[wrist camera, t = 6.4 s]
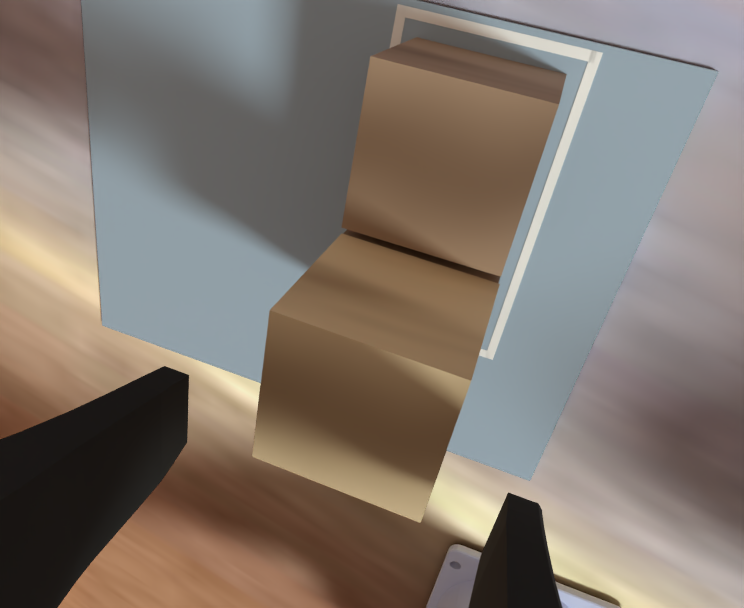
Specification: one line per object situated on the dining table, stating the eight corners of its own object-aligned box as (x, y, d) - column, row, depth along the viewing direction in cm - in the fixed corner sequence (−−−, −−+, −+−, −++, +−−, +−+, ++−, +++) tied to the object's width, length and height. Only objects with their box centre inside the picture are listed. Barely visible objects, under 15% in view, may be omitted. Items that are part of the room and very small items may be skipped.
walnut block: (518, 217, 20) (501, 276, 16) (387, 179, 21) (341, 227, 17) (566, 74, 17) (558, 104, 14) (416, 37, 18) (370, 56, 14)
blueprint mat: (530, 477, 25) (529, 481, 25) (105, 323, 28) (101, 325, 28) (717, 70, 16) (718, 71, 16) (80, -80, 20) (75, -80, 20)
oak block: (455, 409, 19) (420, 523, 15) (318, 360, 19) (251, 456, 16) (499, 283, 16) (471, 380, 12) (341, 233, 17) (269, 310, 13)
